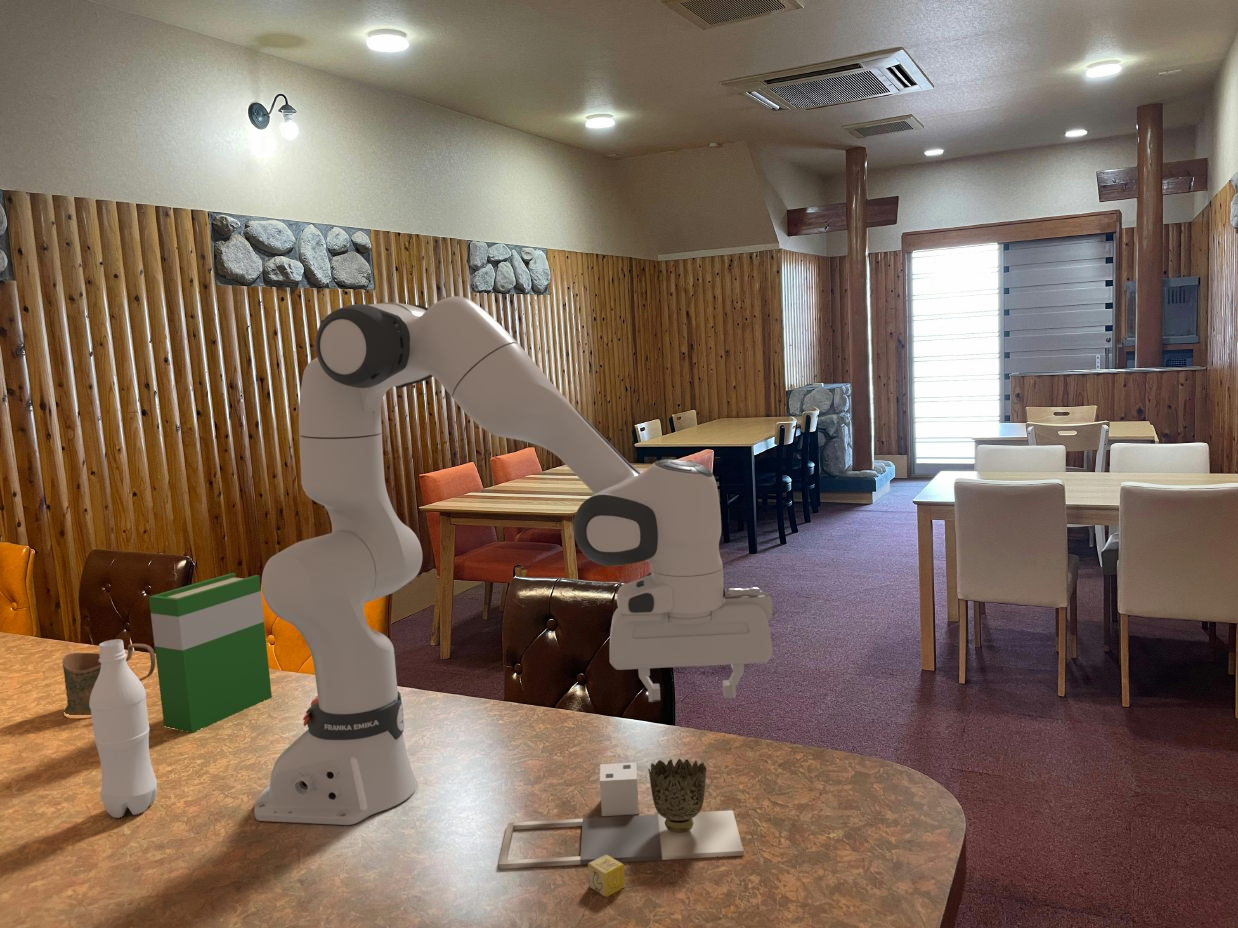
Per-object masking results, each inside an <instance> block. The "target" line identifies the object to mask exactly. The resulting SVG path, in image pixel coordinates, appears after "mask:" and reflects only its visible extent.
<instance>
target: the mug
mask: <svg viewBox="0 0 1238 928" xmlns="http://www.w3.org/2000/svg"><path fill="white" fill-rule="evenodd" d="M134 648H141V649H142V648H143V649H145V650H147V651H148V653H149V657H150V669H149V671H148V673H147V675H145V676H142V677H141V678H138V679H139V680H140V682H141V681H144V680H145V679H147V678H149V677H150V676H151V675H152V674H153V673H154V671H155V668H156V653H155V649H153V647H151V646H150V645H148V644H145V643H131V644H128V645H127V657H126V662H128V661H130V660H131V658H132V656H133V649H134ZM99 655H100V653H97V652H72V653H68V654H65V656H63V657H62V662H61V663H62V668H63V676H64V683H65V690H66V693H65V694H66V695H65V696H66V698H67V699H66V702H67V705H66V707H65V708H64V709H65V710H63V711H64V712H65V713H66V714H69V715H91V709H90V707H89V701H90V695H91V692H92V690H93V687H94V685H95V682H96V680H97V678H98V676H99V673H100V669H101V663H100V662H99V658H100V657H99Z"/></svg>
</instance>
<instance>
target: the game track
mask: <svg viewBox="0 0 1238 928" xmlns="http://www.w3.org/2000/svg"><path fill="white" fill-rule="evenodd" d="M692 819H693V822H694V824H693V827H692V829H691V830H690V831H688V832H684V833H674V832H671V831H669V830H668V829H667V828H666V826H665V820H666V818H664V817H662V816H661V815H660V814H659V813H658V814H642V815H641V814H640V815H639V814H638V815H620V816H602V817H589V818H588V817H587V818H585V817H584V818H569V819H566V818H565V819H554V820H553V819H552V820H551V819H550V820H549V819H548V820H534V821H516V822H515V821H514V822H507V825H506V828H505V829H506V830H505V835H504V838H503V842H502V843H503V844H502V847H501V850H500V856H499V859H498V870H502V869H503V870H504V869H505V870H506V869H521V868H522V869H523V868H525V869H526V868H538V867H539V868H540V867H542V868H543V867H557V866H574V865H588V863H590V862H592V861H594V860H596V859H598V858H600V857H602V856H604V855H608V856H610V857H612V858H613V859H615V860H617V861H618V862H620V863H630V862H631V863H632V862H647V861H650V862H651V861H665V860H667V861H670V860H683V859H701V858H702V859H703V858H722V857H723V856H724V857H737V856H739V857H741V856H744V851H745V850H744V847H743V844H742V839H741V836H740V834H739V833H740V832H739V829H738V825H737V821H736V817H735V812H734V810H732V809H731V810H729V809H728V810H714V811H700V812H699V813H698V814H697V815H696V816H695V817H694V818H692ZM571 827H582V828H581V842H580V856H579V855H578V856H562V857H560V856H559V857H542V858H540V857H539V858H526V859H525V858H524V859H522V858H521V859H509V858H508V857H509V853H510V848H511V844H512V839H513V833H514V830H516V831H517V830H531V829H534V830H536V829H549V828H550V829H552V828H553V829H554V828H571ZM717 856H718V857H717ZM724 857H723V858H724Z"/></svg>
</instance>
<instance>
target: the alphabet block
mask: <svg viewBox="0 0 1238 928" xmlns="http://www.w3.org/2000/svg"><path fill="white" fill-rule="evenodd" d="M587 872H588V873H587V875H588V876H587V878H588V879H587V880H588V887H589V888H591V889H592V890H594V891H595V892H597V893H599V894H600V895H602V896H603V897H605V898H607V897H609V896H611V895H613V894H615V893H617V892H618V891H620V890H622V889H624V888H625V865H624V864H623V862H618V861H617V860H615V859H613V858H612V857H610V856H608V855H604V856H602V857H600V858H598V859H596V860H594V861H592V862H590V863H588V864H587Z"/></svg>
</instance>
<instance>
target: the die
mask: <svg viewBox="0 0 1238 928" xmlns="http://www.w3.org/2000/svg"><path fill="white" fill-rule="evenodd" d="M599 789H600V803H601V804H600V805H601V816H602V817H615V816H633V815H639V814H640V809H639V792H638V791H639V789H638V771H637V762H636V761H635V762H621V763H619V762H618V763H602V764H601V763H600V767H599Z"/></svg>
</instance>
